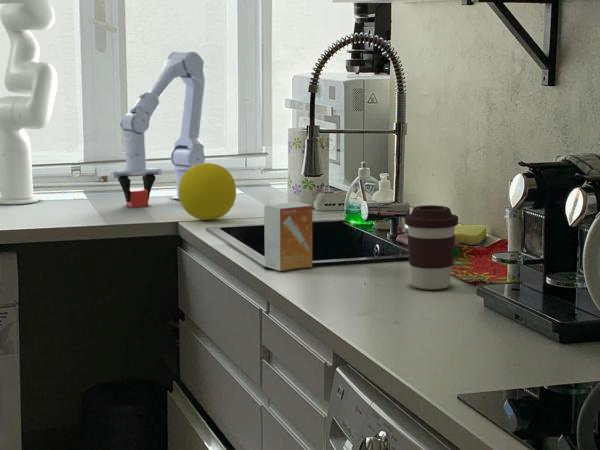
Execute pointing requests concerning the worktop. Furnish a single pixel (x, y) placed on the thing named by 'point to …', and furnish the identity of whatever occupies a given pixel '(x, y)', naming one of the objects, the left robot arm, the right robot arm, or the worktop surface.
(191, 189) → the toy
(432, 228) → the coffee cup
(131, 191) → the red cube
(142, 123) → the right robot arm
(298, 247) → the small box
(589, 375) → the worktop surface
